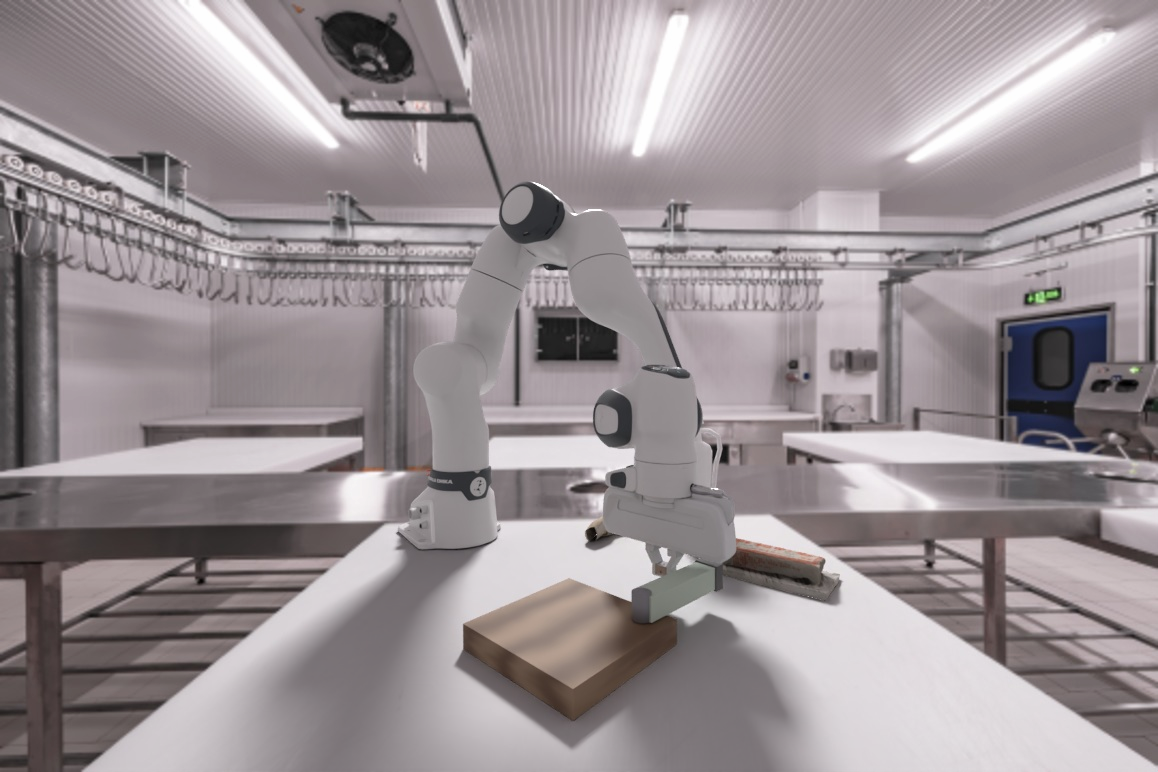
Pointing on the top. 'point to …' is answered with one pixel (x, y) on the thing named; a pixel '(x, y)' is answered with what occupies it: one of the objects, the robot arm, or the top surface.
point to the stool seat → (568, 644)
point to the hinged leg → (675, 590)
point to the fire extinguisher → (707, 458)
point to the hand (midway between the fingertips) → (664, 576)
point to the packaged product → (780, 569)
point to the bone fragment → (596, 529)
